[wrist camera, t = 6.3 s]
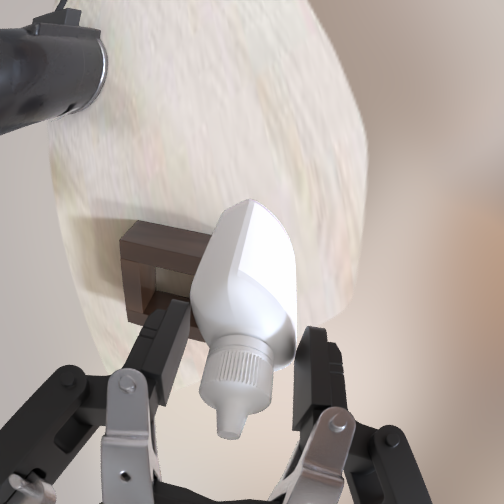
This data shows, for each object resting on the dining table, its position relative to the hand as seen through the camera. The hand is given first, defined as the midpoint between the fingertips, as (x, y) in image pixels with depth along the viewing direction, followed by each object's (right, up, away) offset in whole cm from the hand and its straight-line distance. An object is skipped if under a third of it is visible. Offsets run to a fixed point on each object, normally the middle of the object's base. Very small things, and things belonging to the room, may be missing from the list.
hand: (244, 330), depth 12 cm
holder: (-8, +1, +22) cm, 24 cm away
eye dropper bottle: (+1, +4, +6) cm, 8 cm away
